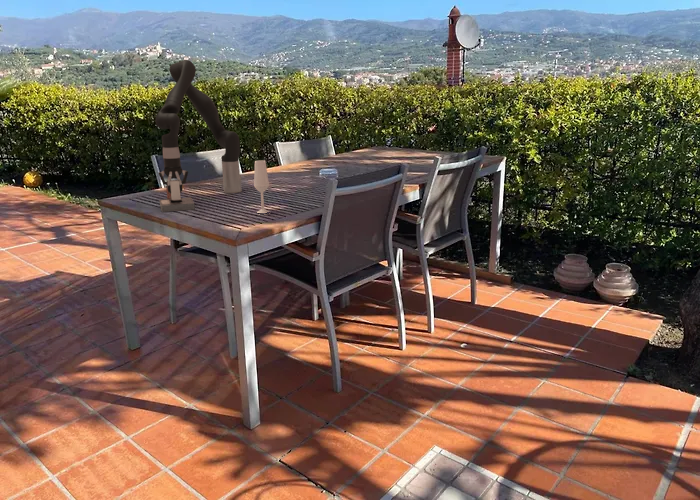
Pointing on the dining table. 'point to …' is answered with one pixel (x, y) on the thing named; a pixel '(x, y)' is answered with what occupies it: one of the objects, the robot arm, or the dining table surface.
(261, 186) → the champagne flute
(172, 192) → the peg
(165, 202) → the slot holder
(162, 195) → the dining table surface
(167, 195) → the lighter
